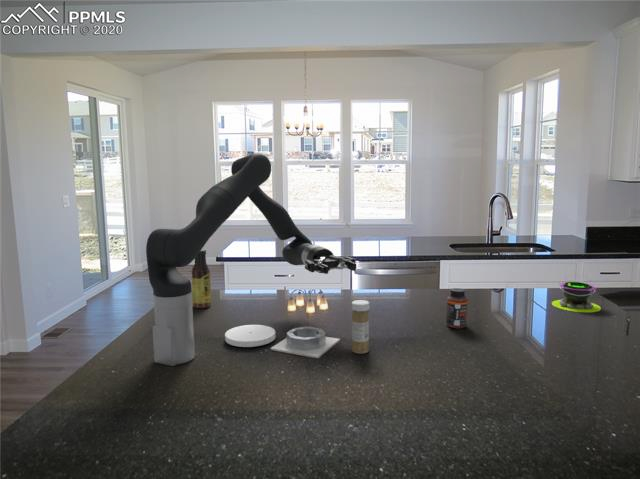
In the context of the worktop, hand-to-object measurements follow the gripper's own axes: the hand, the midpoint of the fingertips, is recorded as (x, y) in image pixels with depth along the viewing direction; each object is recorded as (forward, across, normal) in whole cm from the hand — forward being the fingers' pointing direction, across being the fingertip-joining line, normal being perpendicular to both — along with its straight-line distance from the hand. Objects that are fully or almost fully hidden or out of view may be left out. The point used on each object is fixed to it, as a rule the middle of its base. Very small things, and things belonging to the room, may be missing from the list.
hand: (341, 268), depth 138 cm
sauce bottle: (-49, -30, +20) cm, 61 cm away
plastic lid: (-9, -24, +20) cm, 33 cm away
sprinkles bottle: (+11, 0, +20) cm, 23 cm away
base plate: (+1, -11, +20) cm, 23 cm away
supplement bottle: (+6, +36, +20) cm, 42 cm away
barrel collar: (+1, -11, +20) cm, 23 cm away
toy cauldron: (+6, +86, +21) cm, 89 cm away
